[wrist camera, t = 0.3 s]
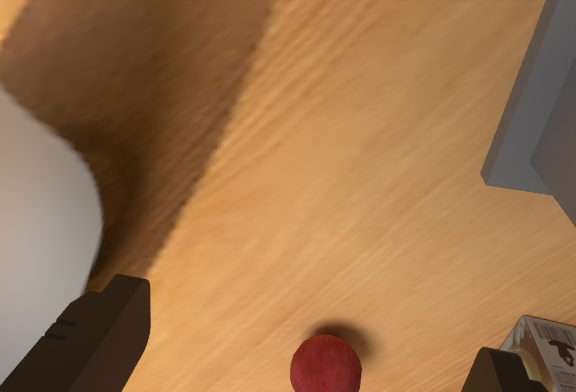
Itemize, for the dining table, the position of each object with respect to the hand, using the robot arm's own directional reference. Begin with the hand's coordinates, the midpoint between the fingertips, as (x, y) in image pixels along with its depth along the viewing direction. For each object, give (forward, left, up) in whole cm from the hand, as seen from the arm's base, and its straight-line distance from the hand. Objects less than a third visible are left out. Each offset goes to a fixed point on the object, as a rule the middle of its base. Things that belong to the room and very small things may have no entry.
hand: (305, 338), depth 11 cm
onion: (+20, +13, -22) cm, 32 cm away
